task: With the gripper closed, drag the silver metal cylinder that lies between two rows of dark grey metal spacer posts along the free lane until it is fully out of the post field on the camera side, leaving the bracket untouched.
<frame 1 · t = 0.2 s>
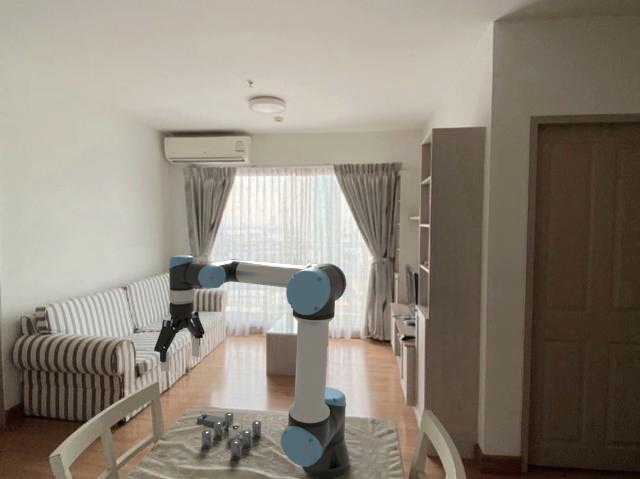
hand: (181, 363, 119), 28 cm above the table, fingers open, 13 cm apart
spacer field: (232, 441, 121), on the table
silver metal cylinder: (235, 438, 123), on the table
bracket: (211, 423, 133), on the table
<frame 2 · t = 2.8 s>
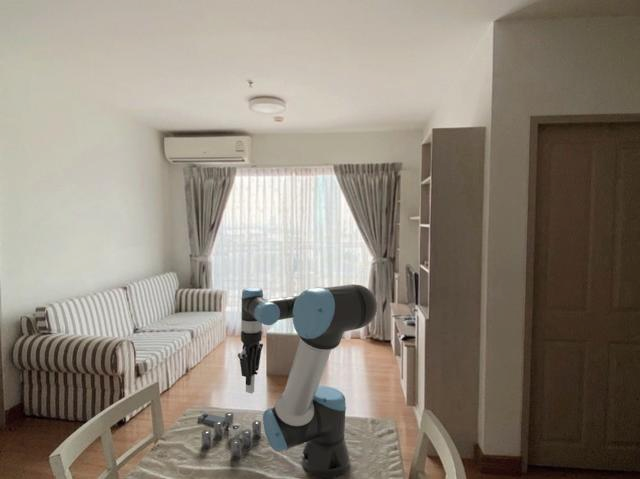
hand: (249, 391, 131), 13 cm above the table, fingers closed
nothing on the table moved.
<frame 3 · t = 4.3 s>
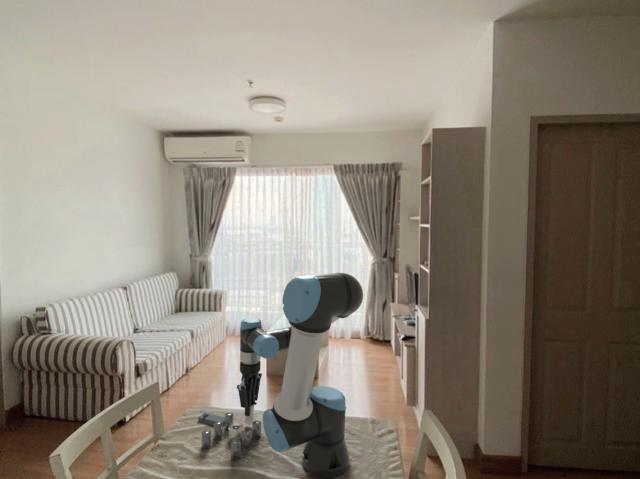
hand: (249, 422, 131), 1 cm above the table, fingers closed
nothing on the table moved.
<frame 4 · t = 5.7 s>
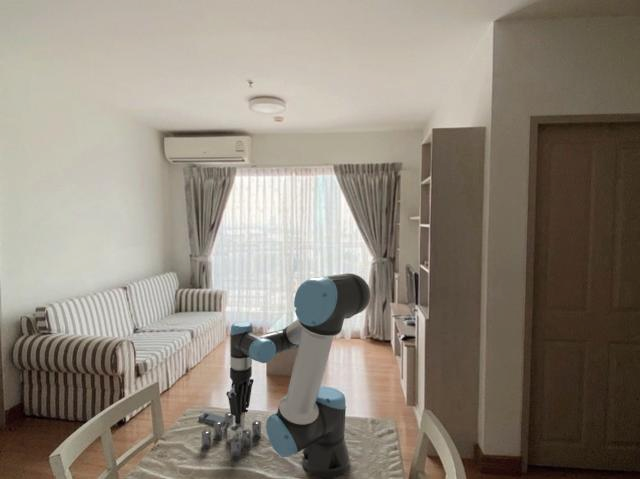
hand: (239, 430, 125), 1 cm above the table, fingers closed
silver metal cylinder: (234, 439, 123), on the table, touching gripper
everything else where it was.
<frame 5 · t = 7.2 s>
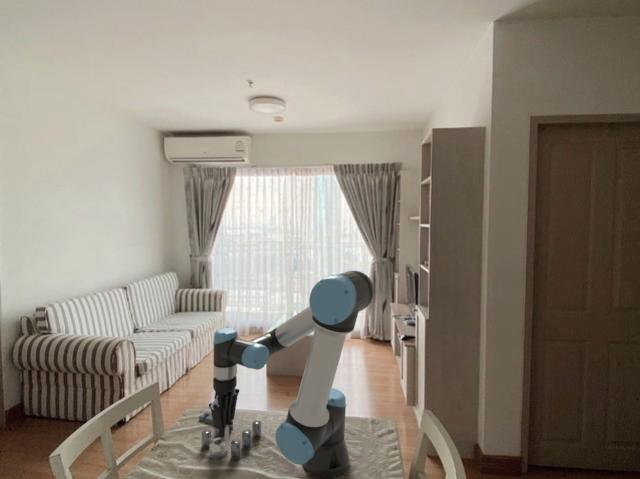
hand: (224, 444, 118), 1 cm above the table, fingers closed
silver metal cylinder: (217, 454, 115), on the table, touching gripper
everything else where it was.
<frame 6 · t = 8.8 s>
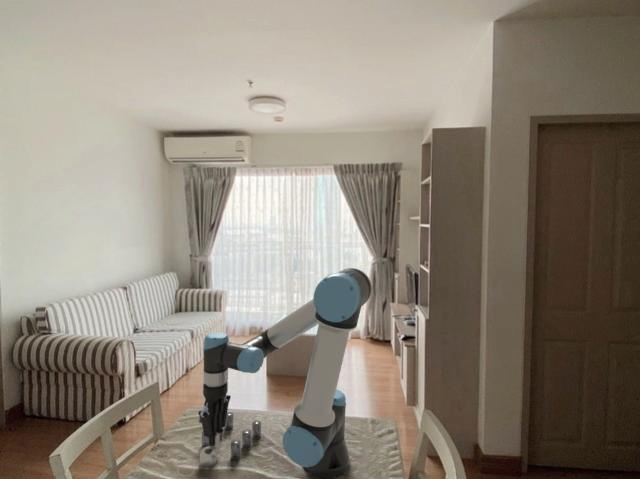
hand: (214, 452, 113), 1 cm above the table, fingers closed
silver metal cylinder: (208, 463, 110), on the table, touching gripper
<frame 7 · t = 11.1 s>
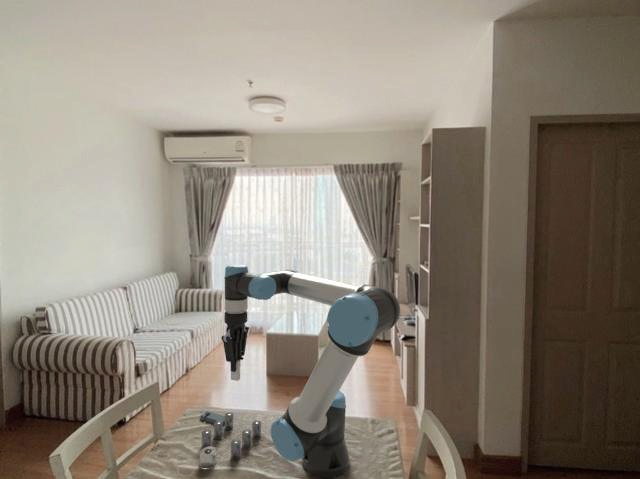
hand: (235, 379, 119), 23 cm above the table, fingers closed
silver metal cylinder: (208, 463, 110), on the table
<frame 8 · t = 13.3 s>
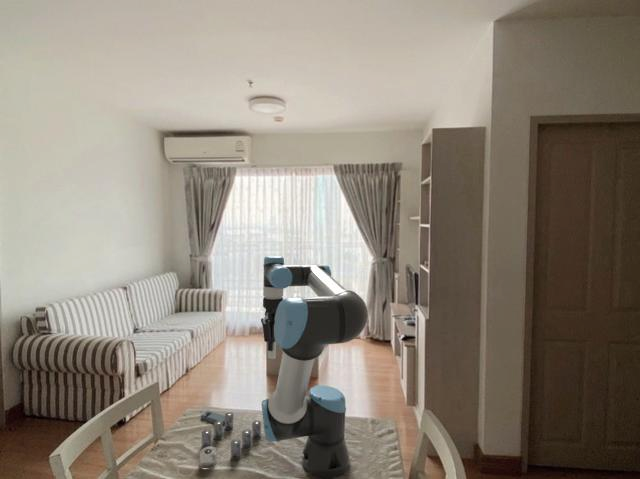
hand: (271, 358, 134), 24 cm above the table, fingers closed
at the end: silver metal cylinder inside the target area (2.2 cm from its centre), on the table; silver metal cylinder moved 14.1 cm from its start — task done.
